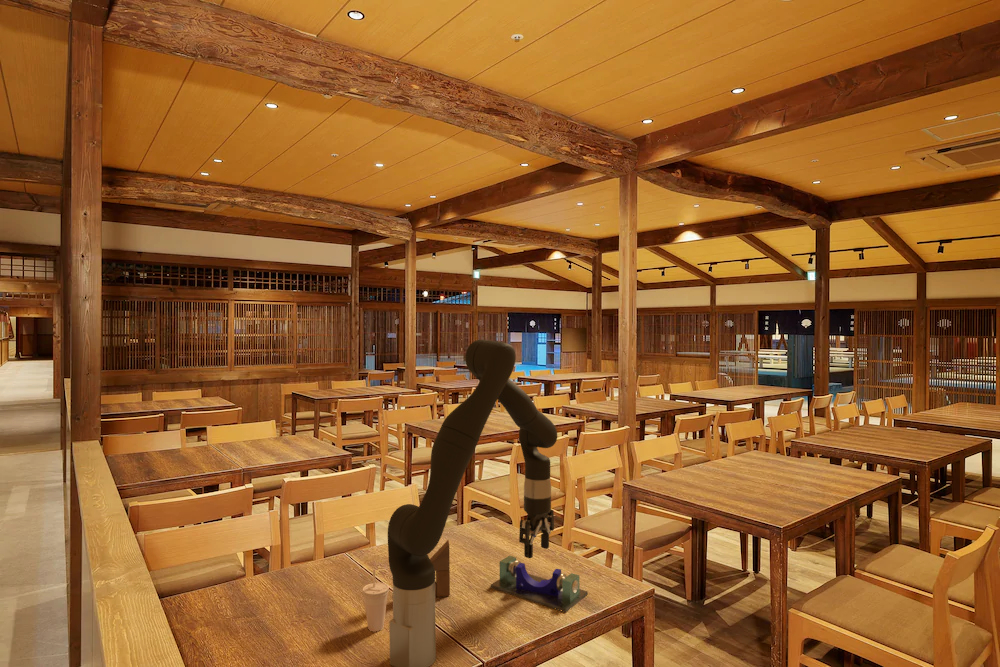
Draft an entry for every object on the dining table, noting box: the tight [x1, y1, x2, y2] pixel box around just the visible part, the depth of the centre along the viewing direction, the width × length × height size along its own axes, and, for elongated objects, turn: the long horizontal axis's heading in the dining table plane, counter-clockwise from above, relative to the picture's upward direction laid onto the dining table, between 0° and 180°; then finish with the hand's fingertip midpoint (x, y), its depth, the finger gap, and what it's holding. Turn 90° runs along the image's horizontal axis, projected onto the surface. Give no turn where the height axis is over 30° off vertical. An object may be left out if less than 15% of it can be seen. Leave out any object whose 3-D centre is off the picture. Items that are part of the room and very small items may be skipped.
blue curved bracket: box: [516, 562, 562, 596], centre depth 154 cm, size 12×4×6 cm, turn 68°
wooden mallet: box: [429, 539, 451, 598], centre depth 152 cm, size 4×11×18 cm, turn 99°
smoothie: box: [361, 568, 390, 633], centre depth 136 cm, size 6×6×14 cm
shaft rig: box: [490, 555, 589, 613], centre depth 154 cm, size 12×24×6 cm, turn 54°
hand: (537, 552), depth 154 cm, fingers open, 8 cm apart
